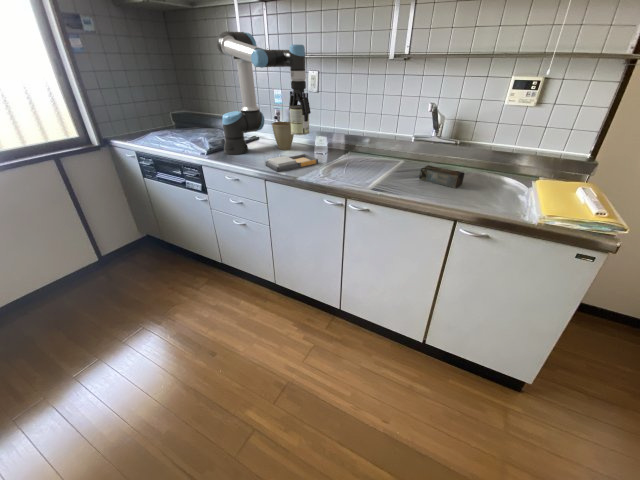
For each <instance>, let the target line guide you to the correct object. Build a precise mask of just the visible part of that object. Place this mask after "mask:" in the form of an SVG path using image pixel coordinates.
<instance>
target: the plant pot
mask: <svg viewBox="0 0 640 480" xmlns="http://www.w3.org/2000/svg"><path fill="white" fill-rule="evenodd" d="M271 126H272V127H271V128H272V131H273V136H274V138H275V142H276V145H277V148H278V150H281V151H289V150H291V147H292V143H293V140H294V136H295V135H293V134H291V122H290V121H275V122H272V123H271Z"/></svg>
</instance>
